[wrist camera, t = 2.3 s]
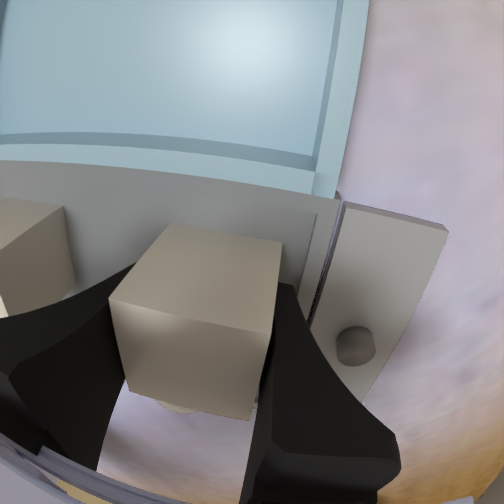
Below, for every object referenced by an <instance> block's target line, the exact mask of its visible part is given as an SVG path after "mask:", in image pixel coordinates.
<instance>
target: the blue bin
mask: <svg viewBox="0 0 504 504" xmlns="http://www.w3.org/2000/svg"><path fill="white" fill-rule="evenodd" d="M368 7H369V0H0V160H16V161H42V162H61V163H76V164H90V165H102V166H114V167H124V168H134V169H144V170H153V171H162V172H170V173H178V174H186V175H194V176H201V177H208V178H215V179H222V180H229V181H235V182H242V183H248V184H254V185H260V186H266V187H272V188H277V189H283V190H289V191H294V192H299V193H305V194H310V195H315V196H320V197H325V198H330V199H334V196H335V192H336V187H337V183H338V179H339V174H340V170H341V165H342V160H343V156H344V151H345V146H346V141H347V136H348V131H349V126H350V121H351V116H352V111H353V105H354V100H355V94H356V89H357V83H358V77H359V71H360V64H361V58H362V52H363V45H364V38H365V30H366V23H367V15H368Z"/></svg>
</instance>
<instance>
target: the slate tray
mask: <svg viewBox="0 0 504 504" xmlns="http://www.w3.org/2000/svg"><path fill="white" fill-rule="evenodd" d="M6 197H10V198H17V199H24V200H30V201H37V202H44V203H50V204H57V205H63V208H64V216H65V224H66V231H67V237H68V244H69V250H70V255H71V261H72V266H73V271H74V276H75V281H76V285H75V286H74V287H73V288H72V289H71V290H70V291H69V292H68V293H67V295H66V296H65V297H64V298H63V299H62V300H64V299H67V298H69V297H71V296H74V295H76V294H78V293H80V292H82V291H84V290H86V289H88V288H90V287H92V286H94V285H96V284H98V283H100V282H102V281H104V280H105V279H107V278H109V277H111V276H112V275H114V274H116V273H118V272H119V271H121V270H123V269H125V268H126V267H128V266H130V265H132V264H134V263H135V262H137V261H138V260H139V259H140V258H141V257H142V256H143V254H144V253H145V252H146V251H147V250H148V248H149V247H150V246H151V245H152V244H153V243H154V241H155V240H156V239H157V238H158V237H159V236H160V234H161V233H162V232H163V231H164V230H165V229H166V227H167V226H168V225H169V224H170V223H174V224H180V225H186V226H191V227H197V228H203V229H209V230H215V231H220V232H226V233H232V234H237V235H243V236H249V237H254V238H260V239H265V240H271V241H276V242H282V251H281V259H280V268H279V276H278V282H280V283H286V284H291V285H293V286H294V288H295V291H296V295H297V298H298V301H299V304H300V307H301V309H302V312H303V314H304V317H305V319H306V321H307V319H308V315H309V312H310V309H311V306H312V302H313V299H314V296H315V293H316V289H317V286H318V282H319V279H320V276H321V272H322V269H323V265H324V261H325V258H326V254H327V251H328V247H329V243H330V240H331V236H332V232H333V228H334V224H335V221H336V217H337V213H338V209H339V205H340V201H341V200H340V197H339V195H338V192H337V191H336V192H335V196H334V199H330V198H325V197H320V196H315V195H310V194H305V193H299V192H294V191H289V190H283V189H277V188H272V187H266V186H260V185H254V184H248V183H242V182H235V181H229V180H222V179H215V178H208V177H201V176H194V175H186V174H178V173H170V172H162V171H153V170H144V169H134V168H124V167H114V166H102V165H90V164H76V163H61V162H42V161H16V160H0V201H1V200H3V199H5V198H6ZM448 234H449V231H448V230H447V229H446V228H445V227H444V226H443V225H441V224H437V223H433V222H429V221H425V220H421V219H418V218H414V217H410V216H405V215H401V214H397V213H393V212H389V211H385V210H380V209H376V208H372V207H367V206H363V205H358V204H354V203H349V202H344V203H343V207H342V211H341V215H340V219H339V222H338V226H337V230H336V234H335V237H334V241H333V245H332V248H331V252H330V255H329V259H328V262H327V266H326V269H325V273H324V276H323V280H322V283H321V286H320V290H319V293H318V296H317V299H316V303H315V306H314V309H313V312H312V315H311V318H310V321H309V325H308V326H309V328H310V330H311V332H312V334H313V336H314V338H315V340H316V342H317V344H318V346H319V347H320V349H321V351H322V353H323V354H324V356H325V358H326V359H327V361H328V362H329V364H330V365H331V367H332V368H333V370H334V371H335V373H336V374H337V375H338V377H339V378H340V379H341V381H342V382H343V383H344V384H345V386H346V387H347V388H348V389H349V390H350V391H351V393H352V394H353V395H354V396H355V397H356V399H357V400H358V401H359V402H360V403H361V401H362V400H363V398H364V397H365V395H366V394H367V392H368V391H369V389H370V388H371V386H372V384H373V383H374V381H375V380H376V378H377V377H378V375H379V373H380V372H381V370H382V368H383V367H384V365H385V363H386V362H387V360H388V358H389V357H390V355H391V353H392V351H393V350H394V348H395V346H396V344H397V343H398V341H399V339H400V337H401V335H402V334H403V332H404V330H405V328H406V326H407V324H408V322H409V320H410V318H411V317H412V315H413V313H414V311H415V309H416V307H417V305H418V303H419V301H420V298H421V296H422V294H423V292H424V290H425V288H426V286H427V284H428V281H429V279H430V277H431V275H432V272H433V270H434V268H435V266H436V263H437V261H438V259H439V256H440V254H441V251H442V249H443V246H444V244H445V241H446V239H447V236H448ZM62 300H61V301H62ZM258 394H259V385H258V389H257V393H256V397H255V401H254V405H253V408H255V409H257V406H258Z"/></svg>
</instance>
